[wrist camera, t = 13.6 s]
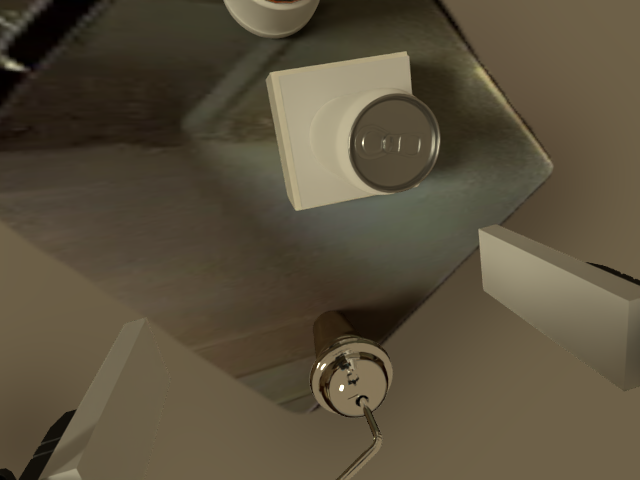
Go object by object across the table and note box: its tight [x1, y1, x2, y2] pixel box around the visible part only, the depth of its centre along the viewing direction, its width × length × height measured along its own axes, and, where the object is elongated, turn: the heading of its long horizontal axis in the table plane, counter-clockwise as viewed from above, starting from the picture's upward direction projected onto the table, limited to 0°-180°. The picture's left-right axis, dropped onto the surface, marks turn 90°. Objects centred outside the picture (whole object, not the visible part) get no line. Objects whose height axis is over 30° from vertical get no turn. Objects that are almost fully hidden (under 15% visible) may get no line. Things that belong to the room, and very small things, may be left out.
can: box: [309, 88, 441, 195], centre depth 29 cm, size 6×6×12 cm
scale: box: [266, 51, 419, 211], centre depth 39 cm, size 12×13×9 cm
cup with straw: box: [309, 311, 393, 480], centre depth 40 cm, size 8×9×20 cm
